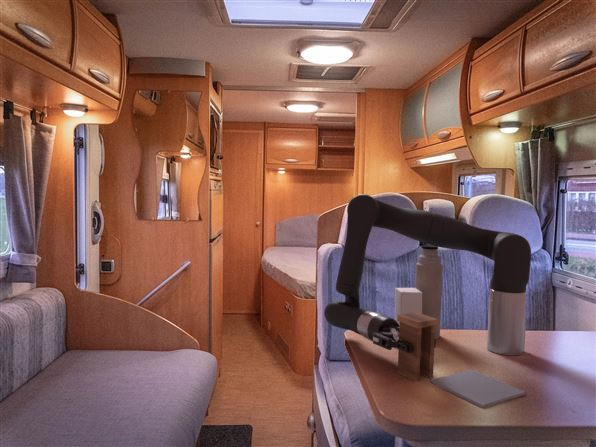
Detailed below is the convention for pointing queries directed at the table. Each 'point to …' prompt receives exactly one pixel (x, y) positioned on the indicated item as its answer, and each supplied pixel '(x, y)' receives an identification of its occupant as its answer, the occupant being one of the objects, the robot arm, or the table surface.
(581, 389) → the table surface
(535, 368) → the table surface
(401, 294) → the skincare box
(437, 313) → the thermos bottle
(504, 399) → the mat
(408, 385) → the table surface
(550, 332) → the table surface
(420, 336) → the stool
